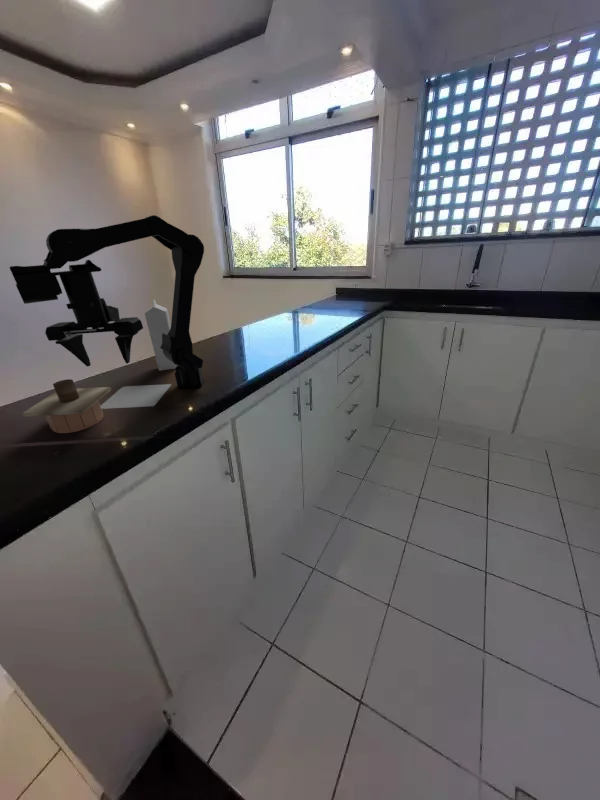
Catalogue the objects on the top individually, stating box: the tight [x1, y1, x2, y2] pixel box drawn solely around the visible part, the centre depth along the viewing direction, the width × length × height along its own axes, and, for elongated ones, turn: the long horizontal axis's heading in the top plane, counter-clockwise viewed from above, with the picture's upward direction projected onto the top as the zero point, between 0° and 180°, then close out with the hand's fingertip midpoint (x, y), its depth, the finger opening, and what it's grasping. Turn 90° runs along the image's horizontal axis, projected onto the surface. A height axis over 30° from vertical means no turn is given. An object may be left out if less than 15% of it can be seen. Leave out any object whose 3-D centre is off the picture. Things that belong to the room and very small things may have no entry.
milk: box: [144, 299, 177, 371], centre depth 99 cm, size 6×6×22 cm
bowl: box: [44, 400, 104, 434], centre depth 70 cm, size 10×10×6 cm
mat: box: [100, 383, 172, 410], centre depth 83 cm, size 14×14×1 cm
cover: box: [21, 378, 112, 418], centre depth 68 cm, size 12×12×5 cm
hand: (108, 364), depth 74 cm, fingers open, 9 cm apart
